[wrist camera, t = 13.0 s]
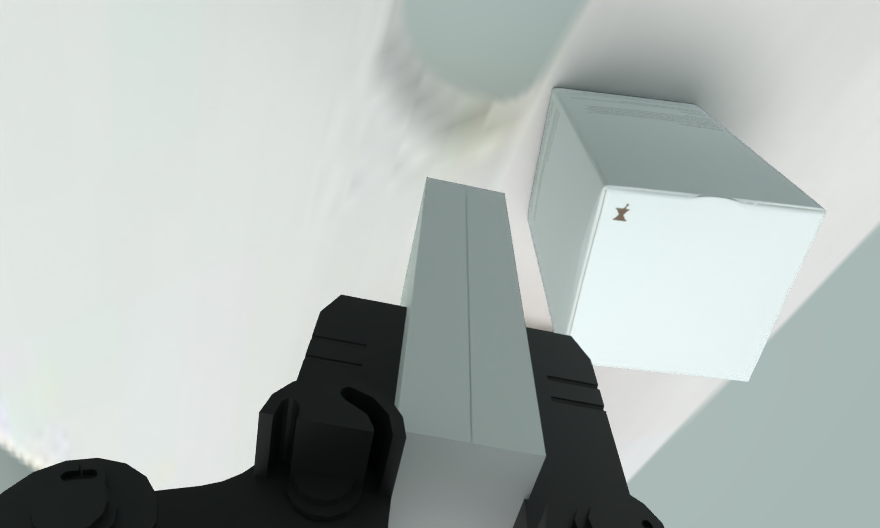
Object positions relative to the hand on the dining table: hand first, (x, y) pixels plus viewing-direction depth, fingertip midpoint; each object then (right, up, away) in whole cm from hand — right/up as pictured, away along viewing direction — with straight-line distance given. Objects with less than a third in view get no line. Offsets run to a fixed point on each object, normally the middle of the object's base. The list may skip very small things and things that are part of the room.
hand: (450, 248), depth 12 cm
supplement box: (+10, +6, +27) cm, 29 cm away
